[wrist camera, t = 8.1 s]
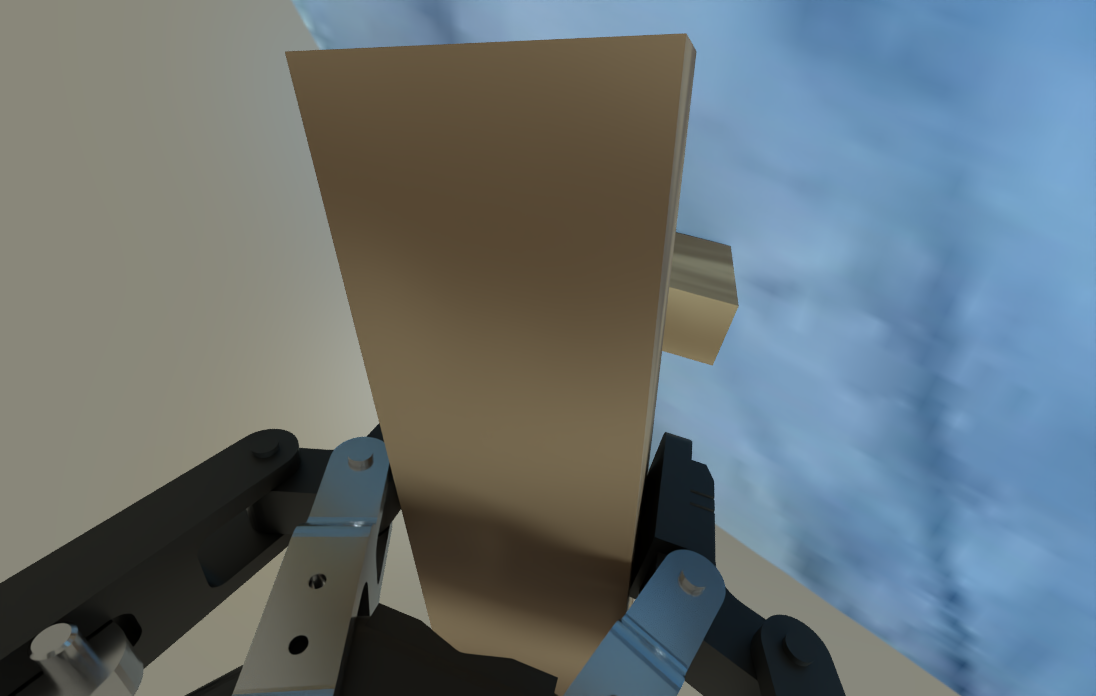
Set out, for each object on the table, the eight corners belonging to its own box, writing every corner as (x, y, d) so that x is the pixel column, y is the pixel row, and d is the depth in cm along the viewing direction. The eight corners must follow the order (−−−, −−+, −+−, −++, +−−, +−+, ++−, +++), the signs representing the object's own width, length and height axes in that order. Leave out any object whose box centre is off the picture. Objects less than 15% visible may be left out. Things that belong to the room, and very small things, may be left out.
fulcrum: (557, 202, 27) (509, 243, 21) (730, 246, 26) (738, 305, 19) (548, 250, 29) (501, 303, 22) (711, 294, 27) (712, 365, 21)
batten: (456, 59, 10) (284, 51, 6) (696, 51, 9) (686, 33, 5) (508, 577, 19) (454, 716, 15) (632, 609, 18) (609, 771, 14)
